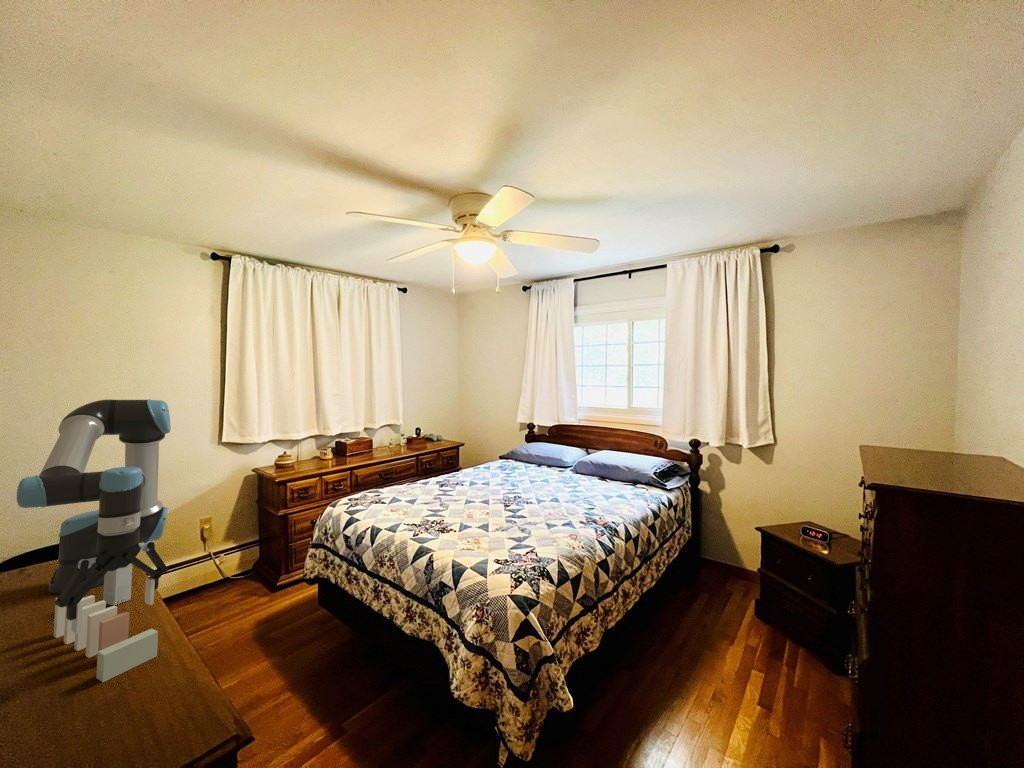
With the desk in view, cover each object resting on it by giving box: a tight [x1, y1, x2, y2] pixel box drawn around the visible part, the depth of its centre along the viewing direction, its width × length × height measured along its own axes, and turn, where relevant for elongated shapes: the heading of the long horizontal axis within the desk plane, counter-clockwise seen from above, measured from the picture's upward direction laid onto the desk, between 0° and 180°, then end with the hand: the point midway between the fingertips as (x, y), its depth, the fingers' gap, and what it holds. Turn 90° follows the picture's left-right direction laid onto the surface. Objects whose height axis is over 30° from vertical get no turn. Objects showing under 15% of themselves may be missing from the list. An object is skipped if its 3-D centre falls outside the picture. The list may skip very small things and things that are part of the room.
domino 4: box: [85, 605, 118, 659], centre depth 100 cm, size 2×5×10 cm, turn 156°
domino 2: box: [63, 594, 96, 645], centre depth 105 cm, size 2×5×10 cm, turn 156°
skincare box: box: [102, 563, 133, 606], centre depth 123 cm, size 6×4×12 cm
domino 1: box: [53, 596, 85, 639], centre depth 107 cm, size 2×5×10 cm, turn 156°
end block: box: [95, 628, 159, 683], centre depth 94 cm, size 3×10×6 cm, turn 156°
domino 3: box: [73, 599, 107, 652], centre depth 102 cm, size 2×5×10 cm, turn 156°
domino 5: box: [98, 611, 131, 651], centre depth 97 cm, size 2×5×10 cm, turn 156°
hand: (114, 616), depth 98 cm, fingers open, 13 cm apart
